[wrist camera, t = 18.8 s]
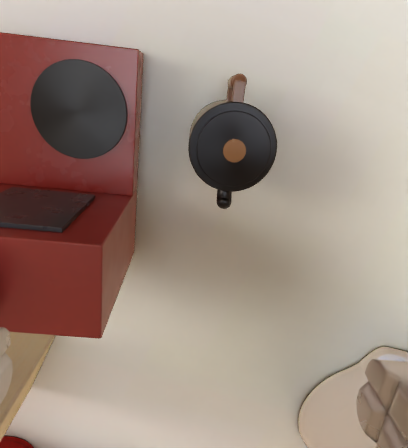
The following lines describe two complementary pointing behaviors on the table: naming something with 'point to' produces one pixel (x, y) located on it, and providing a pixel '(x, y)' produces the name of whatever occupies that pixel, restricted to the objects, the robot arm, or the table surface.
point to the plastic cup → (14, 443)
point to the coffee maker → (67, 269)
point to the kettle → (232, 143)
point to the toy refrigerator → (22, 371)
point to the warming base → (65, 127)
